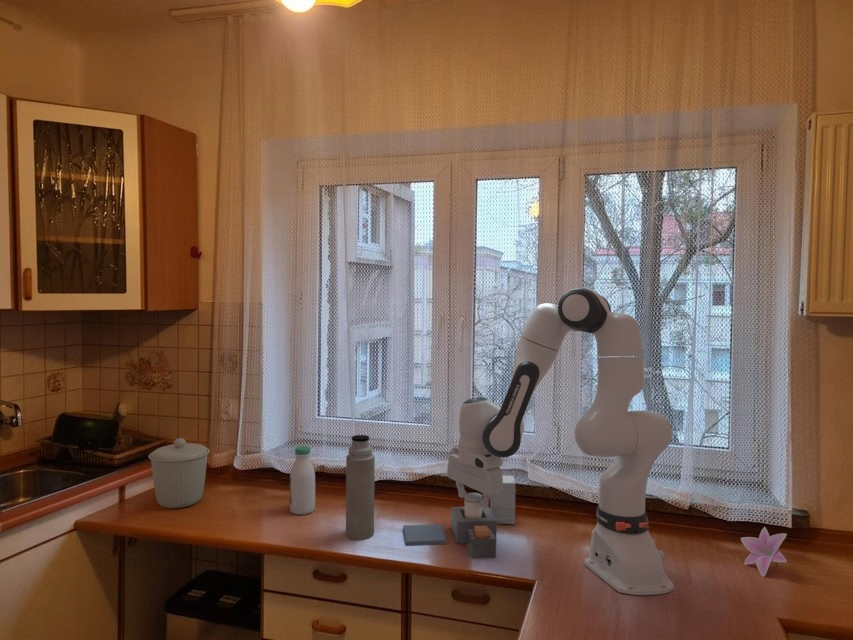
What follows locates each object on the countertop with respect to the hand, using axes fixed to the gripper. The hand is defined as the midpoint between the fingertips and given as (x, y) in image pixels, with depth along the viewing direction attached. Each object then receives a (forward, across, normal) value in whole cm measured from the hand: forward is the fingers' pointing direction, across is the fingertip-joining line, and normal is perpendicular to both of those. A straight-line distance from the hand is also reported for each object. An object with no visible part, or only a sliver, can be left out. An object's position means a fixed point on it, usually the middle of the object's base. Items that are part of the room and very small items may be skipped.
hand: (472, 502), depth 161 cm
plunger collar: (+9, +11, -6) cm, 15 cm away
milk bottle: (+10, -43, -33) cm, 55 cm away
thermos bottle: (+9, -18, -27) cm, 33 cm away
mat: (+9, -6, -12) cm, 17 cm away
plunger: (+8, +11, -6) cm, 15 cm away
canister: (+10, -72, -62) cm, 96 cm away
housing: (+9, +1, 0) cm, 9 cm away
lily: (+9, +58, +47) cm, 75 cm away
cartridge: (+9, +1, 0) cm, 9 cm away
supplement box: (+10, -2, +14) cm, 17 cm away
